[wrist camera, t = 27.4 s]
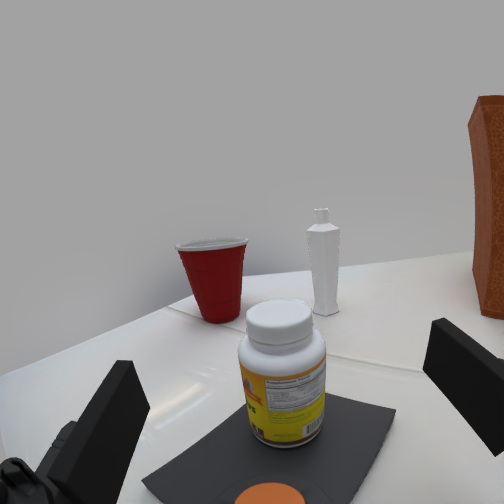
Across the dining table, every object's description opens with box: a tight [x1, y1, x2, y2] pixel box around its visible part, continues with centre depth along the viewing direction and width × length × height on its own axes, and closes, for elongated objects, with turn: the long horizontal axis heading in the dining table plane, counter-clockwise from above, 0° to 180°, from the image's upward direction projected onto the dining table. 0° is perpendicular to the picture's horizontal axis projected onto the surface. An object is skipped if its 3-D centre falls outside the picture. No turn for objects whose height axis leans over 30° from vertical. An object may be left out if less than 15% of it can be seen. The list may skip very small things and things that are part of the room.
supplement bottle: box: [238, 299, 326, 448], centre depth 18 cm, size 6×6×10 cm
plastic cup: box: [175, 238, 249, 323], centre depth 43 cm, size 11×11×12 cm
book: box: [468, 95, 504, 319], centre depth 31 cm, size 23×8×30 cm, turn 141°
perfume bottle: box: [306, 208, 339, 316], centre depth 39 cm, size 5×4×15 cm
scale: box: [141, 393, 396, 504], centre depth 15 cm, size 16×12×3 cm
